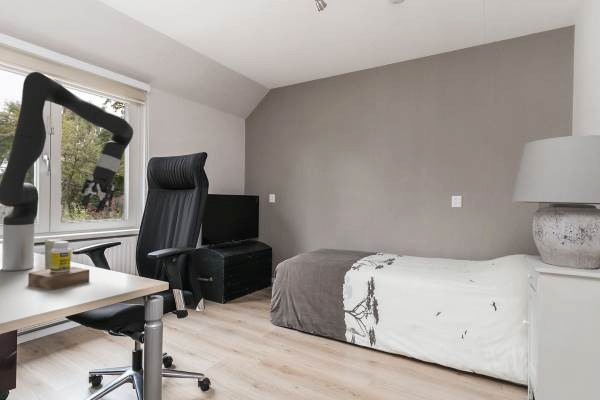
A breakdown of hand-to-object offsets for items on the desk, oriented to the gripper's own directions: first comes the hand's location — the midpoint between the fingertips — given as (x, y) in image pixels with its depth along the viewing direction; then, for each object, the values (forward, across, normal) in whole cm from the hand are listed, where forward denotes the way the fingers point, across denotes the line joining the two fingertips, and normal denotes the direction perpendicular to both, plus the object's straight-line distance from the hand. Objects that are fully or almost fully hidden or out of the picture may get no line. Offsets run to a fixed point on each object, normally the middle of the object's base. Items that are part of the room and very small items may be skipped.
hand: (91, 208), depth 125 cm
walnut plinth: (+26, +8, -8) cm, 29 cm away
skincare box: (+27, -7, +1) cm, 28 cm away
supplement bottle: (+22, +8, -8) cm, 25 cm away
